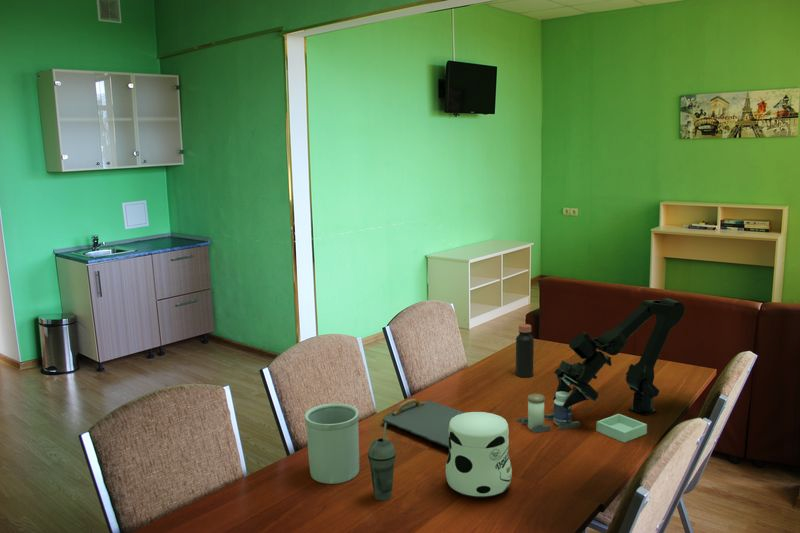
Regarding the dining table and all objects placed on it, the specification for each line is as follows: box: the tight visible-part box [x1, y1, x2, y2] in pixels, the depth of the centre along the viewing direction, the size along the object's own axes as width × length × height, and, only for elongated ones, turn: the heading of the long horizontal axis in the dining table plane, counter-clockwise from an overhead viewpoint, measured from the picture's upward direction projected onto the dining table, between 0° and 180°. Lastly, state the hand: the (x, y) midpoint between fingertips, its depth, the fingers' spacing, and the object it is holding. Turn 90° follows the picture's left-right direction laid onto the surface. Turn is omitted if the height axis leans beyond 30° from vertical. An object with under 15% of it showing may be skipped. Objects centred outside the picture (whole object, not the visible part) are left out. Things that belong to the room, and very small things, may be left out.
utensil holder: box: [304, 402, 360, 485], centre depth 188 cm, size 15×15×18 cm
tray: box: [595, 413, 648, 443], centre depth 211 cm, size 11×11×3 cm
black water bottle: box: [515, 323, 535, 378], centre depth 264 cm, size 7×7×20 cm
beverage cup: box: [367, 422, 397, 501], centre depth 174 cm, size 7×7×20 cm
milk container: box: [445, 411, 513, 499], centre depth 178 cm, size 17×17×18 cm
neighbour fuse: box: [527, 393, 546, 430], centre depth 216 cm, size 5×5×10 cm
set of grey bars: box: [515, 412, 581, 434], centre depth 219 cm, size 17×11×2 cm, turn 107°
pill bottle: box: [552, 391, 573, 426], centre depth 218 cm, size 6×6×10 cm
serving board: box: [381, 398, 465, 449], centre depth 216 cm, size 39×23×6 cm, turn 43°
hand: (558, 404), depth 218 cm, fingers closed on pill bottle, 6 cm apart
